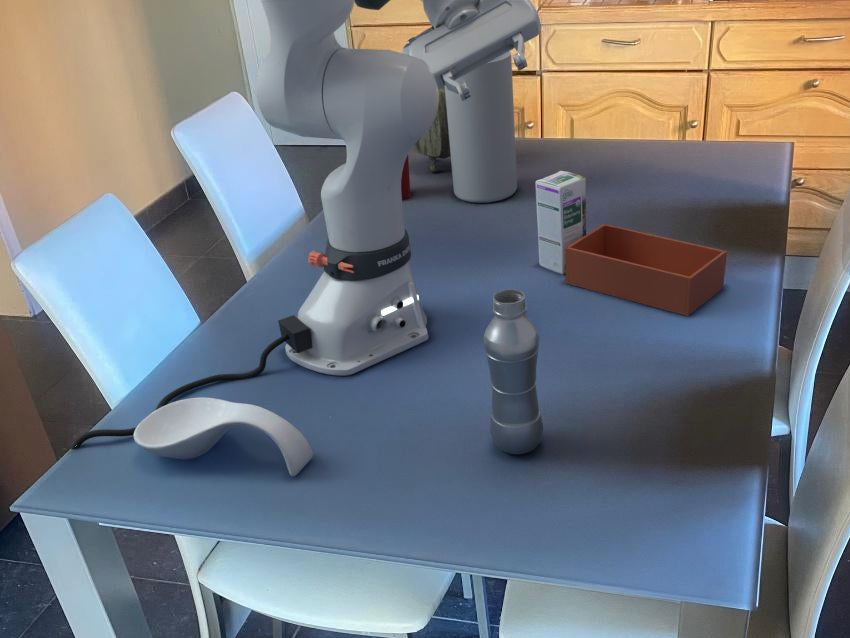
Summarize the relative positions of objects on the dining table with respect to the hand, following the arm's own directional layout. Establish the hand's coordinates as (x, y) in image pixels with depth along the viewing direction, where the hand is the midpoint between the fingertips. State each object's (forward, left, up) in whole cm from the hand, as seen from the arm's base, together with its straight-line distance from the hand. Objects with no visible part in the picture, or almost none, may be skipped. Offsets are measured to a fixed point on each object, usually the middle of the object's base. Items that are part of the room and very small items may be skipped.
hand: (494, 81), depth 139 cm
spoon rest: (-63, -4, -29) cm, 69 cm away
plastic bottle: (-41, -34, -29) cm, 61 cm away
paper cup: (+15, +39, -29) cm, 51 cm away
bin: (+5, -24, -29) cm, 38 cm away
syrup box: (+5, -8, -29) cm, 31 cm away
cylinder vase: (+25, +24, -29) cm, 45 cm away
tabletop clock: (+31, +41, -29) cm, 59 cm away
